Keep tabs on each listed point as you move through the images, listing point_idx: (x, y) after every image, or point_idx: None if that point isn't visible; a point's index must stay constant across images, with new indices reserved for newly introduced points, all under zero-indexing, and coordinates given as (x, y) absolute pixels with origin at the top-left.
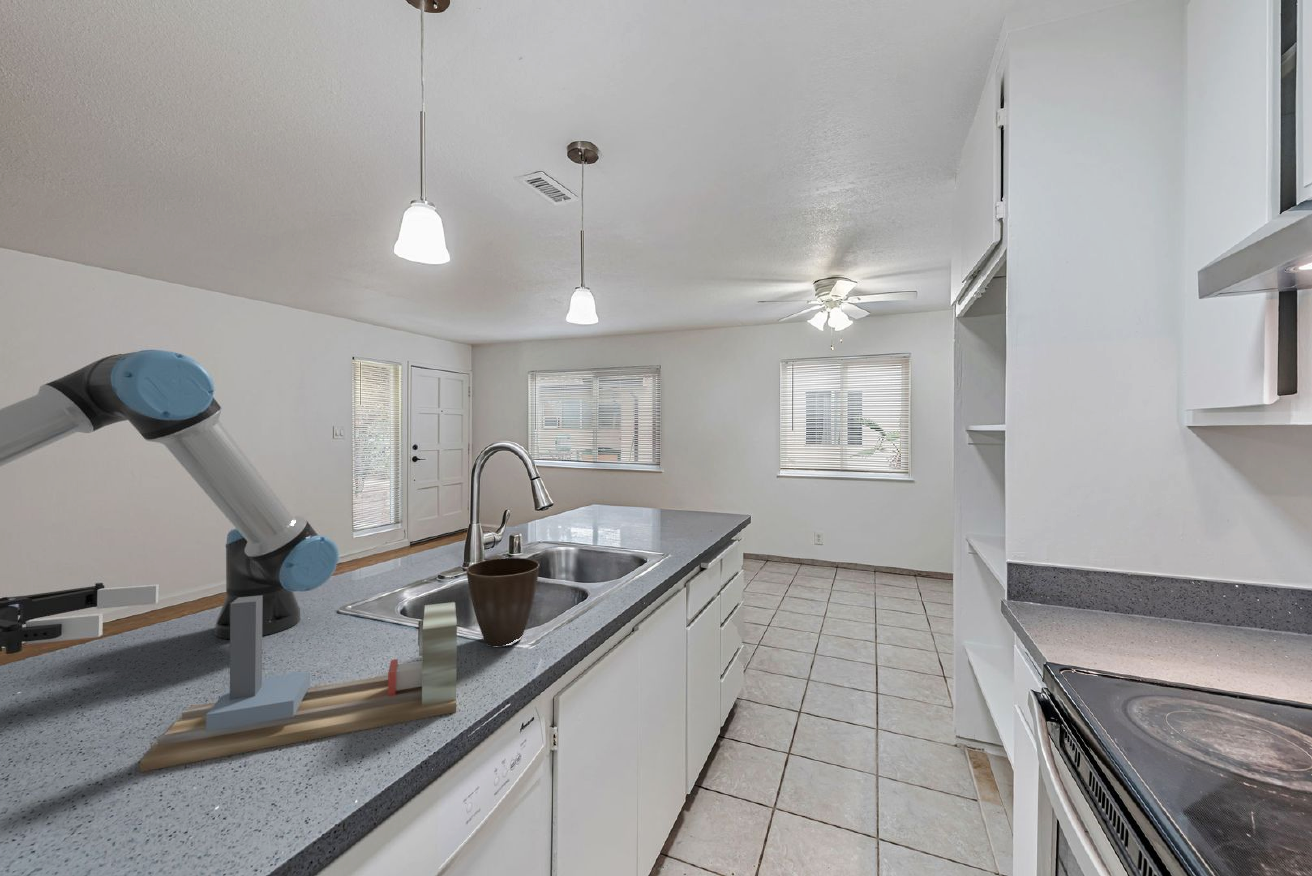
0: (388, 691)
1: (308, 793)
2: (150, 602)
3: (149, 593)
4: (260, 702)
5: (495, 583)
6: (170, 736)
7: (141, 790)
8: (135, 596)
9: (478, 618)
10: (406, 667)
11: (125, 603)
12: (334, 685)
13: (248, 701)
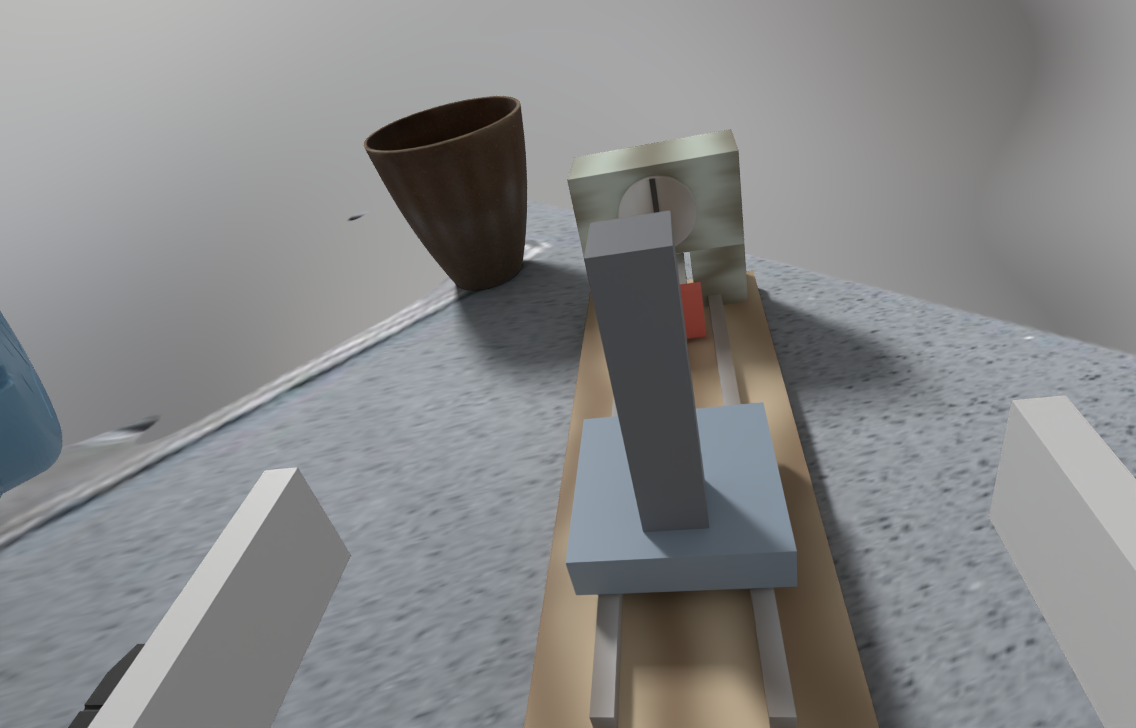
0: (704, 324)
1: (1005, 395)
2: (335, 570)
3: (307, 530)
4: (754, 456)
5: (512, 131)
6: (786, 683)
7: (984, 713)
8: (276, 608)
9: (481, 238)
10: None
11: (268, 696)
12: (577, 432)
13: (735, 483)
